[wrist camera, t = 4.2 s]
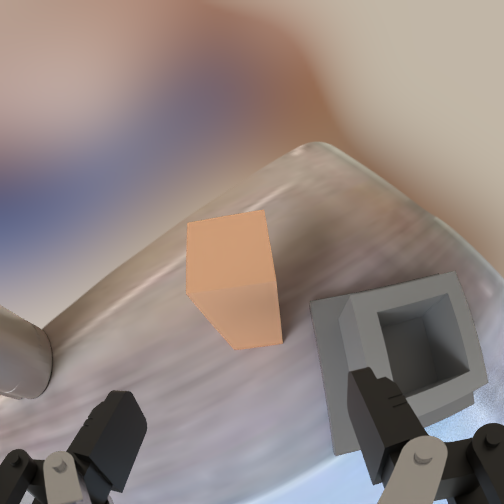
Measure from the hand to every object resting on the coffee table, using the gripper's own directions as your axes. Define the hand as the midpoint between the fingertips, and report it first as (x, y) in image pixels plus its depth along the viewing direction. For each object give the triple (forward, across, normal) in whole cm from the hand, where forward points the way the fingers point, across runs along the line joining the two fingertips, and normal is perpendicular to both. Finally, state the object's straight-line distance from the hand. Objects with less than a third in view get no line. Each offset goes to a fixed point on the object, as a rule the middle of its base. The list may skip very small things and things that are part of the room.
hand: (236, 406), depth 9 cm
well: (+10, -11, +8) cm, 17 cm away
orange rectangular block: (+14, 0, +4) cm, 15 cm away
